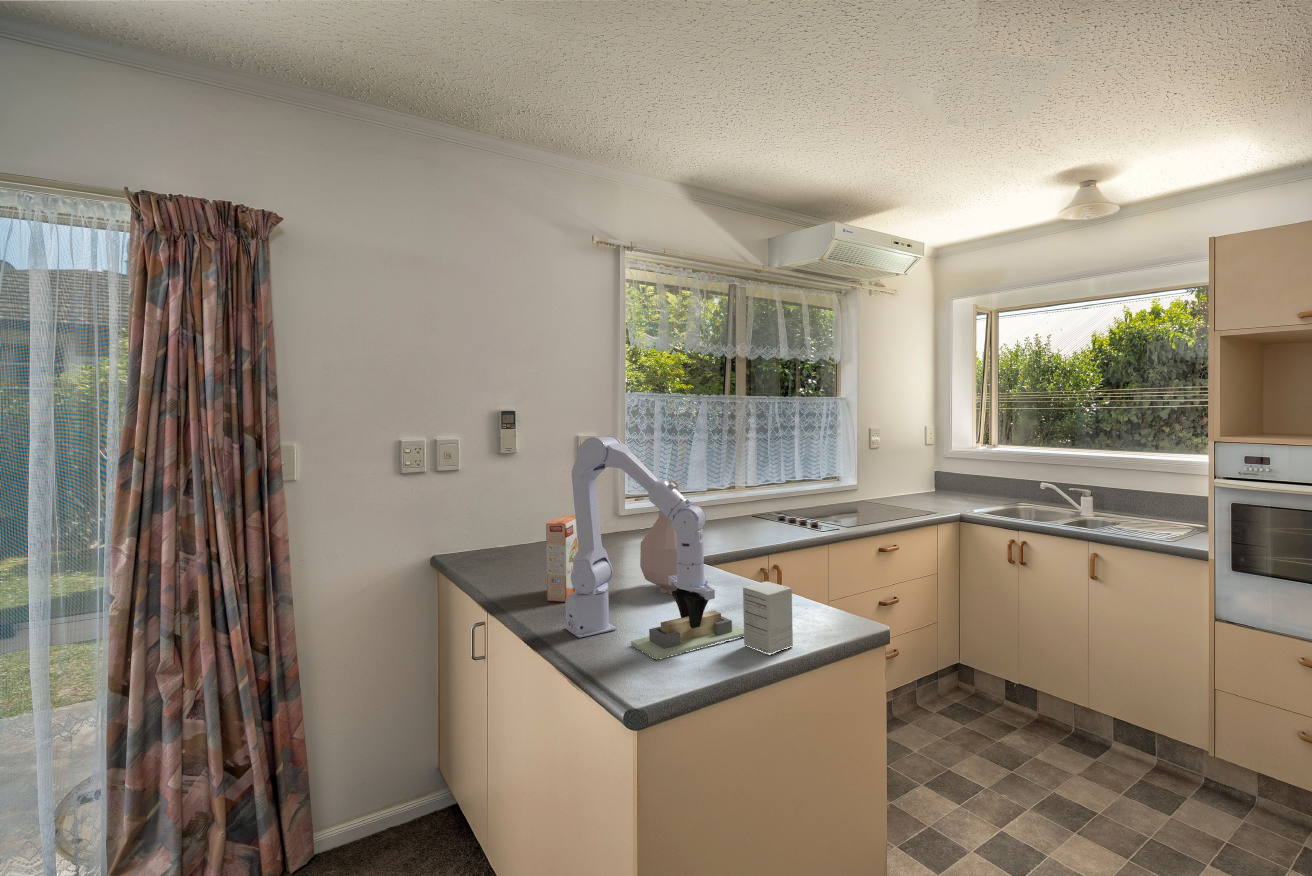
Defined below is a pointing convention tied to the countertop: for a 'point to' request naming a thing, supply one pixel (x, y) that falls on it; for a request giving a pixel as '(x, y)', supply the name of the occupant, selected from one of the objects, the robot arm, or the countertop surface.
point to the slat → (685, 629)
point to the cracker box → (560, 557)
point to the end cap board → (671, 645)
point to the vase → (660, 552)
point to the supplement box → (767, 616)
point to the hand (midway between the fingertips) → (691, 624)
